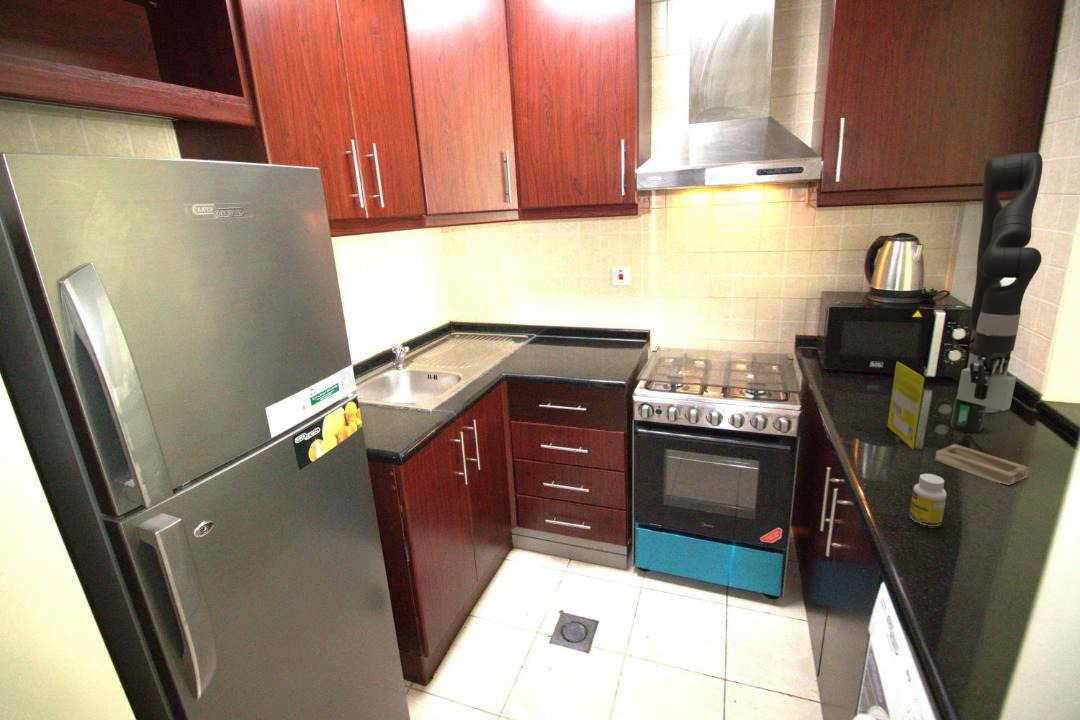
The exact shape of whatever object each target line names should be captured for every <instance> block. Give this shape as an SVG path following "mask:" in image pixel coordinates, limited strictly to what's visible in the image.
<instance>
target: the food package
mask: <svg viewBox="0 0 1080 720" xmlns="http://www.w3.org/2000/svg"><path fill="white" fill-rule="evenodd" d="M895 364H896V365H895V369H894V376H893V384H892V390H891V391H892V392H891V396H890V397H891V399H890V404H889V412H888V418H887V427H888V428H889V429H890V430H891V431H892V432H893V433H894V434H895V435H896V436H898V438H899V439H901V440H902V441H903V442H904V443H905V444H906V445H907V446H908V447H910V448H911V449H912V450H914V446H915V439H916V433H917V427H918V420H919V415H920V410H921V409H920V408H921V402H922V395H923V389H924V383H925V377H924V376H923V375H921V374H920V373H918V372H916V371H915V370H913V369H911V368H910V367H908V366H906V365H905V364H903V363H901V362H899V361H898V360H897V361H896V363H895Z"/></svg>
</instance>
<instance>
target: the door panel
mask: <svg viewBox="0 0 1080 720" xmlns="http://www.w3.org/2000/svg"><path fill="white" fill-rule="evenodd" d="M985 373H989V372H986V371H985ZM985 378H986V377H985ZM1016 381H1017V377H1016V376H1011V375H1002V374H996V373H994V376H993V377H991V378H990V381H989V384H988V389H987V395H986V399H984V400H981V399H977V398H975V397H974V393H975V388H976V384H975V383H971V375H970V368H967V367H966V368H963V369H961V373H960V378H959V383H958V389H957V394H956V397H957V399H959V400H963V401H967V402H971V403H975V404H979V405H983V406H987V407H991V408H995V409H999V411H1006V410H1009V409H1011V404H1012V399H1013V395H1014V391H1015V385H1016Z"/></svg>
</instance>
